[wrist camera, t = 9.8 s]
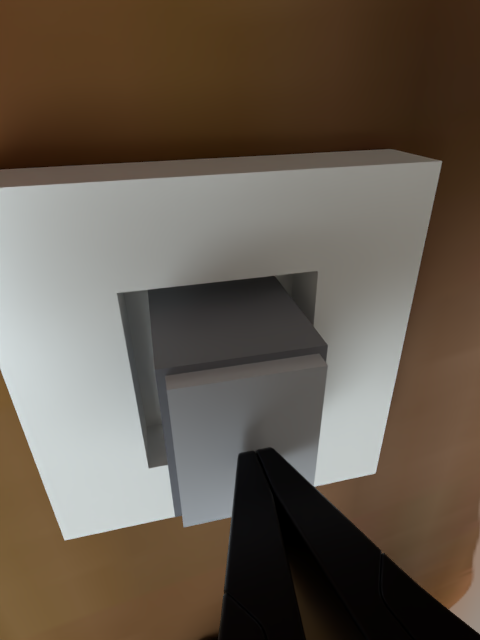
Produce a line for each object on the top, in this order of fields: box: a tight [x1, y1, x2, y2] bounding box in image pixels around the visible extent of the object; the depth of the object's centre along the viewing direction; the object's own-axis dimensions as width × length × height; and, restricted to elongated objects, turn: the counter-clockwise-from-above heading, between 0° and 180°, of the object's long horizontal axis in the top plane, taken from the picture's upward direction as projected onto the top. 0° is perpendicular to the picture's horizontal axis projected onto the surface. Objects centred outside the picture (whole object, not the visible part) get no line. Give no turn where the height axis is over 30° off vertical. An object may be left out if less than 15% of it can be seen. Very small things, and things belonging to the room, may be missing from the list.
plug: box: [148, 276, 328, 527], centre depth 12 cm, size 5×4×5 cm
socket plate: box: [0, 149, 442, 540], centre depth 14 cm, size 12×12×2 cm
